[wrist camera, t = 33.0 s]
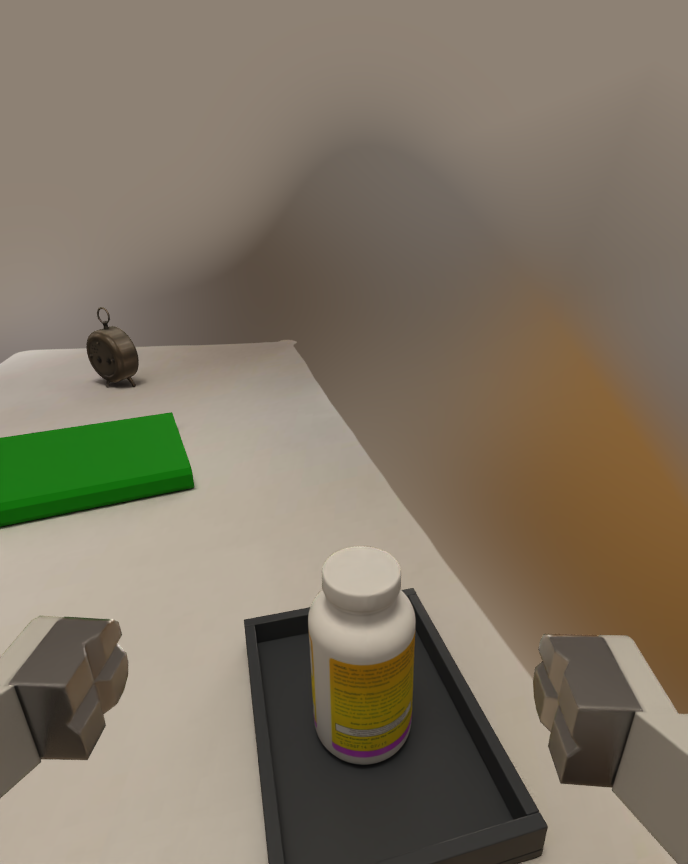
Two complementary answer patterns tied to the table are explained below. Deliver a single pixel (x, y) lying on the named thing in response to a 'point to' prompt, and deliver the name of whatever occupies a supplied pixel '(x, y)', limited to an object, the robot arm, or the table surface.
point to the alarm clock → (112, 353)
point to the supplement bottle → (362, 656)
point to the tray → (384, 766)
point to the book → (90, 467)
